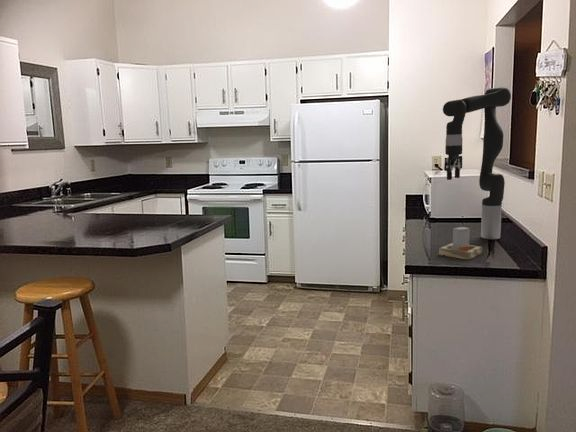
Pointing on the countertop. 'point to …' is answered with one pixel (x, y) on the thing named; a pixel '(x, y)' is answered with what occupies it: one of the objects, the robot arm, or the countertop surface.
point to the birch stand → (451, 252)
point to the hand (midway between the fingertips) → (453, 178)
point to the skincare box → (461, 238)
